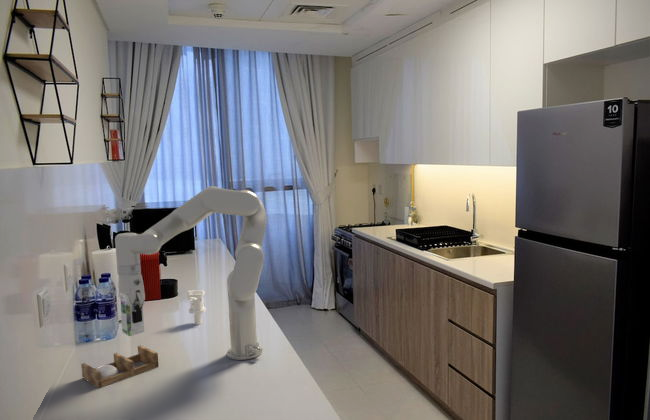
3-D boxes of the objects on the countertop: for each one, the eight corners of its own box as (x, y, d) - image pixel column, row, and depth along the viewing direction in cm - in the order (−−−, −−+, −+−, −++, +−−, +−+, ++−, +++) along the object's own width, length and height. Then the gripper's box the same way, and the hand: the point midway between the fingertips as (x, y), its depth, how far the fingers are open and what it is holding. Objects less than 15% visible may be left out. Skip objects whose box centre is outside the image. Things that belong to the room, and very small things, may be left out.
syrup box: (121, 333, 178) (118, 292, 176) (138, 328, 182) (135, 288, 180) (128, 336, 174) (125, 294, 172) (145, 332, 178) (142, 291, 176)
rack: (158, 366, 179) (157, 352, 178) (98, 388, 163) (97, 373, 163) (141, 358, 187) (140, 345, 186) (82, 378, 171) (81, 363, 171)
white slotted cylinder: (188, 322, 226) (186, 289, 224) (204, 319, 229) (202, 287, 228) (192, 327, 220) (189, 293, 218) (208, 324, 223) (206, 290, 221)
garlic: (89, 378, 172) (89, 367, 171) (108, 371, 177) (107, 360, 177) (103, 383, 167) (102, 372, 167) (122, 376, 173) (121, 365, 172)
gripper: (152, 270, 172) (155, 322, 174) (127, 264, 184) (130, 313, 186) (131, 274, 167) (135, 328, 169) (106, 268, 178) (110, 318, 180)
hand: (132, 319), depth 177 cm, fingers closed on syrup box, 5 cm apart
